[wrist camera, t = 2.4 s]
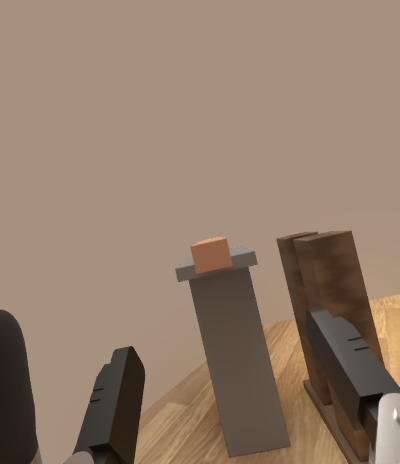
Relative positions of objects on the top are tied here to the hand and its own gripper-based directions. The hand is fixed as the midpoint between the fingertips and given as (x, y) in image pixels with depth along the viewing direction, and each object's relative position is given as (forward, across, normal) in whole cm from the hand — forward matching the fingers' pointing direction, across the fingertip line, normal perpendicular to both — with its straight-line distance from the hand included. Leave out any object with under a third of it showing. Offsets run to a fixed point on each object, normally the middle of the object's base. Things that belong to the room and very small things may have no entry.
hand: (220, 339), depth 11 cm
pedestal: (+13, 0, +44) cm, 46 cm away
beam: (+25, 0, +13) cm, 28 cm away
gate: (+12, -16, +43) cm, 47 cm away
